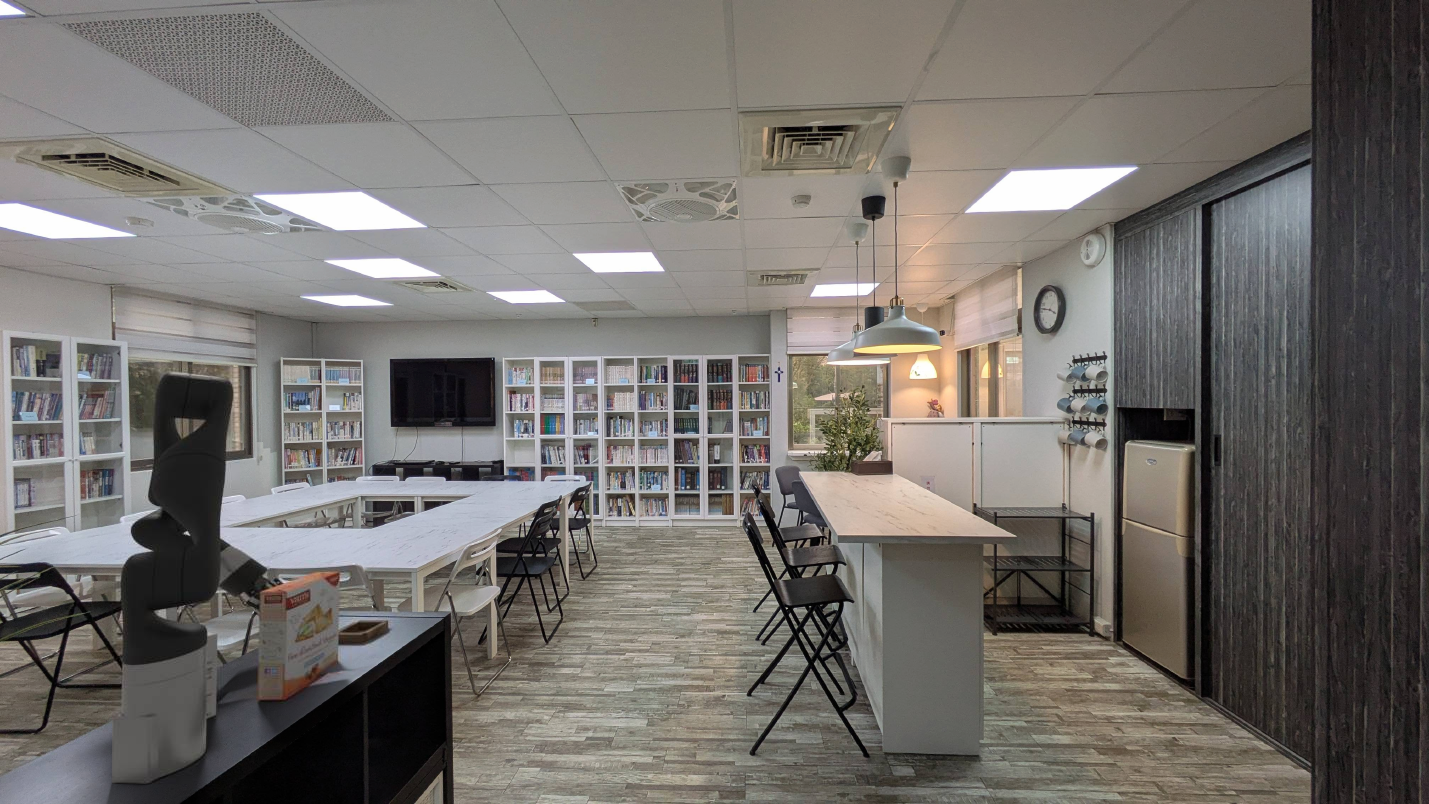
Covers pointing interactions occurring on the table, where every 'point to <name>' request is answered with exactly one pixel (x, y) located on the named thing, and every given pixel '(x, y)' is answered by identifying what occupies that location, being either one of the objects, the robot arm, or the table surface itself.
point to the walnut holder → (362, 631)
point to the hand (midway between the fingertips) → (299, 615)
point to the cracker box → (297, 634)
